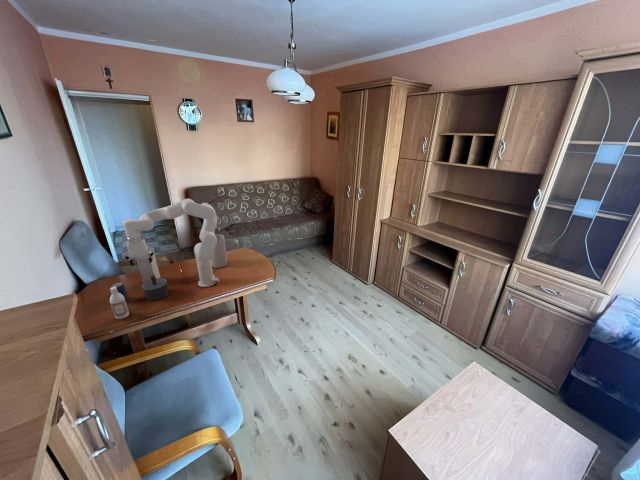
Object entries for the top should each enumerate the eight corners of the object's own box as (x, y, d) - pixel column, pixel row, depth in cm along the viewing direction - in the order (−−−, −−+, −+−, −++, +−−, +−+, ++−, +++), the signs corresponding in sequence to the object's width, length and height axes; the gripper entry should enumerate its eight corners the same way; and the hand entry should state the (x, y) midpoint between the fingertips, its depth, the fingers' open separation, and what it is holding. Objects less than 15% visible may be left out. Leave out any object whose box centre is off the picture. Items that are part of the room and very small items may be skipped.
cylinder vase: (209, 264, 222) (205, 236, 212) (223, 259, 229) (220, 233, 220) (215, 269, 213) (211, 241, 203) (230, 265, 221) (226, 237, 211)
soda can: (126, 295, 178) (121, 280, 174) (129, 299, 174) (124, 284, 170) (113, 300, 174) (108, 284, 169) (117, 304, 169) (112, 288, 165)
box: (160, 278, 200) (153, 248, 190) (156, 284, 192) (148, 253, 183) (148, 279, 198) (140, 249, 189) (143, 285, 191) (135, 254, 181)
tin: (172, 289, 186) (170, 279, 183) (162, 301, 174) (159, 290, 171) (153, 289, 186) (150, 278, 183) (141, 300, 174) (138, 290, 170)
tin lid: (171, 279, 184) (169, 270, 181) (160, 291, 170) (157, 281, 168) (150, 279, 184) (147, 270, 181) (137, 291, 170) (134, 281, 167)
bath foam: (115, 321, 155) (105, 292, 147) (115, 314, 160) (106, 286, 153) (129, 317, 159) (120, 289, 151) (129, 310, 164) (120, 283, 156)
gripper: (152, 234, 166) (158, 258, 173) (119, 238, 159) (126, 263, 166) (150, 239, 160) (157, 264, 167) (116, 243, 153) (124, 269, 160)
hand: (142, 263), depth 166 cm, fingers open, 9 cm apart
